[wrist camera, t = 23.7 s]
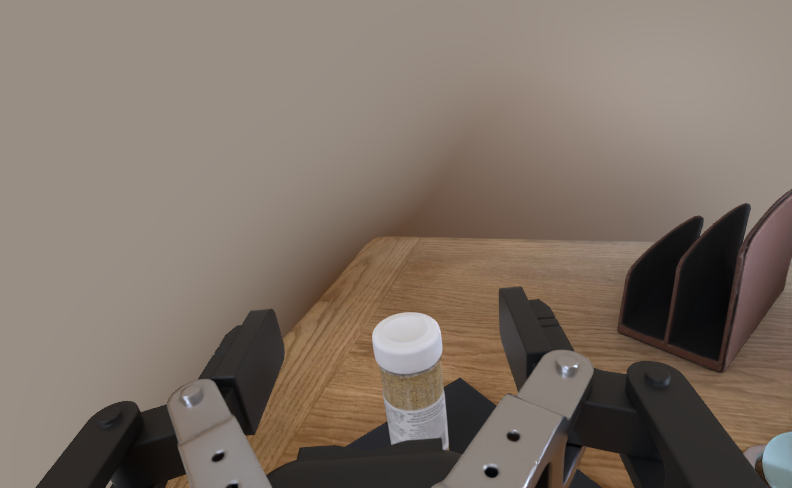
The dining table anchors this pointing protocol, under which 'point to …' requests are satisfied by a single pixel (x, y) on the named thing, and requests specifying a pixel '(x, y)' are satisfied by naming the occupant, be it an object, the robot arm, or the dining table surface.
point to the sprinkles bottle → (412, 377)
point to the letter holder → (709, 284)
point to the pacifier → (774, 460)
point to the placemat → (458, 425)
